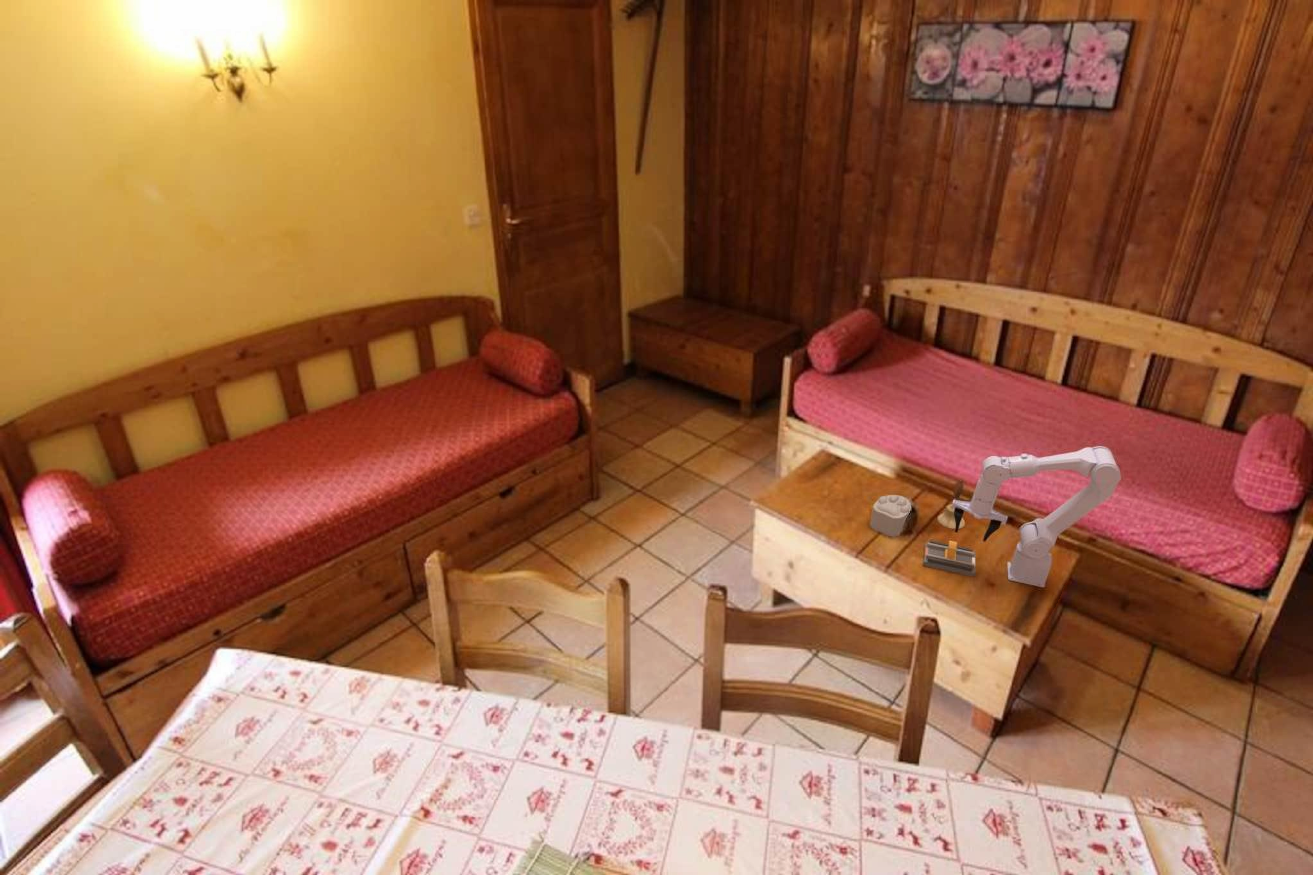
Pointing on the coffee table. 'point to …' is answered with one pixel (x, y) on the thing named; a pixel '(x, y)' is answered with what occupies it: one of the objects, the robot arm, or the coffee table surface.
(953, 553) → the breaker lever
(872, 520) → the lumpy-topped squat cylinder
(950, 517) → the hand bell
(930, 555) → the breaker panel
